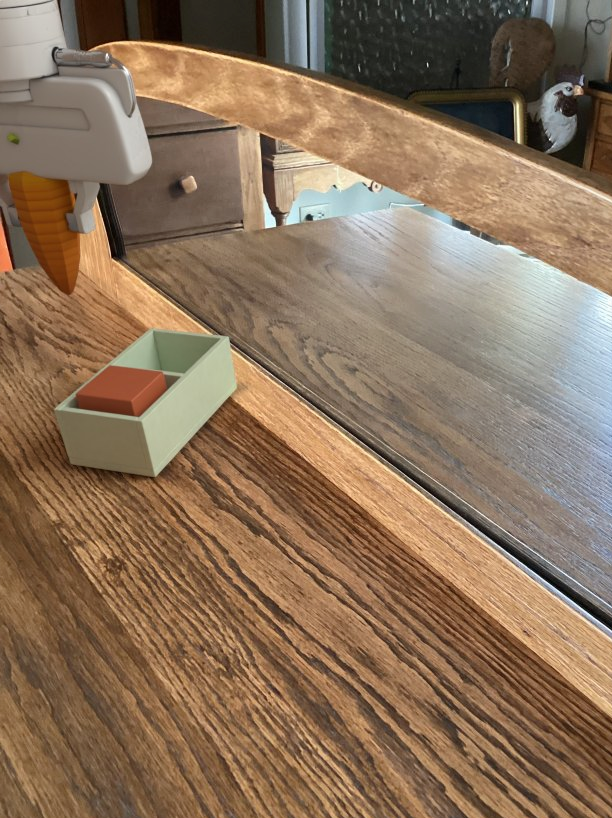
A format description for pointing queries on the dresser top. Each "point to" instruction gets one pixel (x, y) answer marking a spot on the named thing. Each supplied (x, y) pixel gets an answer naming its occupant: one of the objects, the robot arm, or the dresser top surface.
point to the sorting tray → (166, 418)
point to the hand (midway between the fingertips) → (51, 228)
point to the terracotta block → (122, 391)
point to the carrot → (47, 224)
